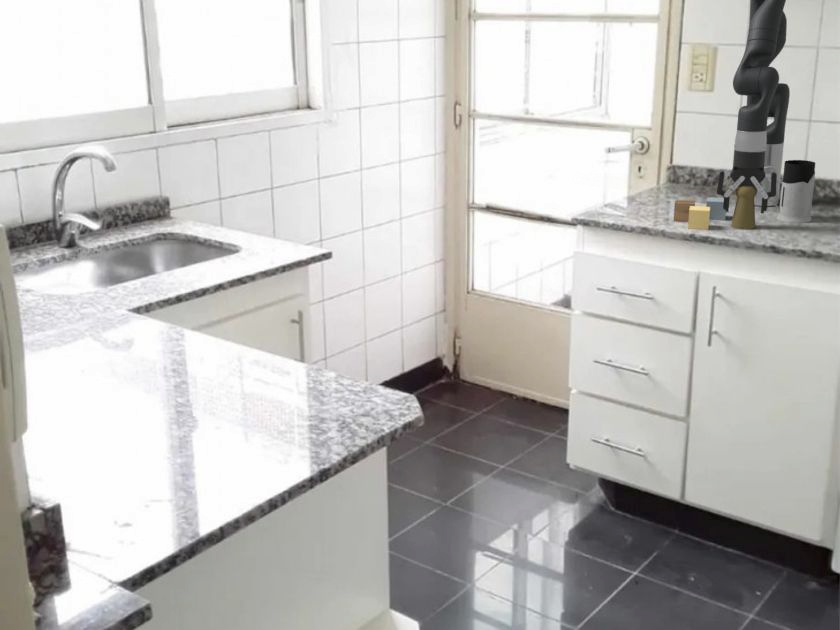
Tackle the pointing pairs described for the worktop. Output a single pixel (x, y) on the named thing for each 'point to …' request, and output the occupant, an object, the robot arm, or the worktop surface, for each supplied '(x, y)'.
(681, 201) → the walnut block
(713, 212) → the slate block
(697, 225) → the mustard block
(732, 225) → the cork
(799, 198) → the glass holder
